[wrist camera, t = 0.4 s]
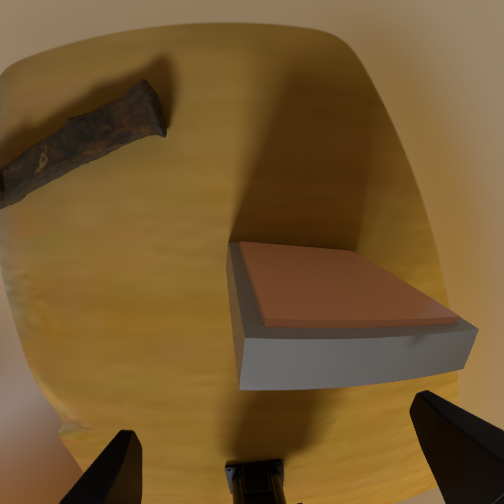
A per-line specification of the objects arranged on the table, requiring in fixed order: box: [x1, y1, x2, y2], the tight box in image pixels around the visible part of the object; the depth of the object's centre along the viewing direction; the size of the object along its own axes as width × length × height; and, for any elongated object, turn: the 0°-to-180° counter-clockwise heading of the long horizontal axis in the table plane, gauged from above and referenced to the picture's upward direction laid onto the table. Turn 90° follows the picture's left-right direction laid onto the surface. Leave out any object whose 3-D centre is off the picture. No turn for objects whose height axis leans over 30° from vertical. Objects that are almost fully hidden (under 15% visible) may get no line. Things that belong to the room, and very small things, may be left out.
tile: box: [226, 241, 478, 390], centre depth 16 cm, size 2×10×14 cm, turn 84°
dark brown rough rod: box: [0, 79, 167, 209], centre depth 17 cm, size 19×4×5 cm, turn 106°
